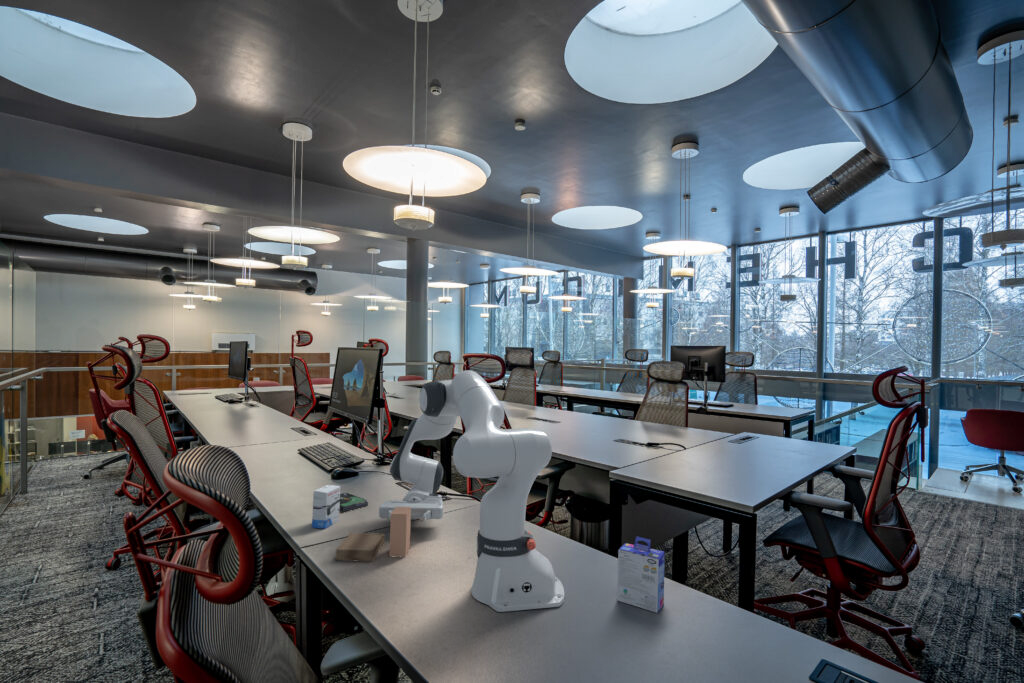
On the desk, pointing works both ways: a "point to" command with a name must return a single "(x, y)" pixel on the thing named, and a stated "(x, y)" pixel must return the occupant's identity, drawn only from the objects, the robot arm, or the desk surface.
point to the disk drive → (351, 502)
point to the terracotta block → (400, 531)
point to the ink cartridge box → (641, 575)
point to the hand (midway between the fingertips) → (407, 518)
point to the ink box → (326, 506)
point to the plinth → (360, 547)
